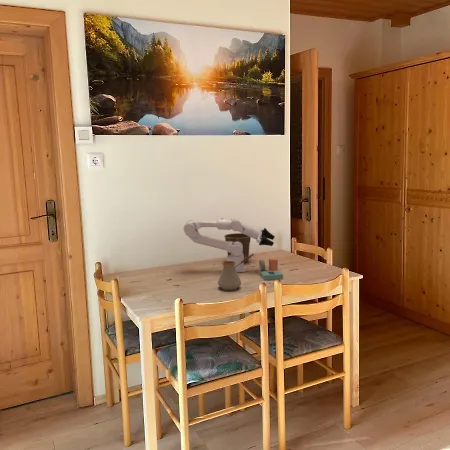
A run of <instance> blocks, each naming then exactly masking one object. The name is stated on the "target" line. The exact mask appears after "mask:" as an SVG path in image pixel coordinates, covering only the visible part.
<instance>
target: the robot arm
mask: <svg viewBox="0 0 450 450" xmlns="http://www.w3.org/2000/svg"><path fill="white" fill-rule="evenodd" d="M202 228H216V229H218V230H219V231H221V230H223V231H230V230H232V231H233V232H237V233H242V234H245V235H247V236H249V237H251V238H252V239H255V240H256V243H258V245H259V246H267V247H268V246H269V247H273V246H274V243H275V242H274V239H275V235H274V234H273V233H271V232H269V230H268V229H267V228H266V227H264V228H262V227H259V228H257V227H254V226H252V225H250V224H247V223H244V222H242V221H241V220H240V219H238V218H229V219H224V218H219V219H217V221H215V220H214V221H213V220H202V219H201V220H200V219H195V220H191V219H190V220H188V221H186V223H185V224H184V225H183V232H184V233H185V236H187V237H188V238H189V239H190V240H191V242H193V243H195V244H199V245H203V246H206V247H210V248H211V247H212V248H214V249H219V250H223V251H226V253H227V252H230V253H231V255H229V256H228V255H226V261H234V262H236V264H235V266H236V265H237V264H239V263H240V262H241V261H243V260H244V254H243V253H242V252H243V245H242V243H240V242H227V241H225V240H222V239H219V238H216V237H215V238H214V237H211V236H207V235H203V234H201V233H200V232H199V230H200V229H202ZM235 269H236V271H237V273H243V272H245V273H246V272H247V271H246V268H245V263H244V262H243V263H242V264H240V265H239V266H237V267H236V268H235Z"/></svg>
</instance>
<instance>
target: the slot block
mask: <svg viewBox="0 0 450 450" xmlns="http://www.w3.org/2000/svg"><path fill="white" fill-rule="evenodd" d="M260 278H262V280H263V281H273V280H274V279H277V280H283V278H284V274H283V273H282V272H281V271H280V270H278V271H269V270H265V271H263V272H261V274H260ZM274 281H275V280H274Z"/></svg>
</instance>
